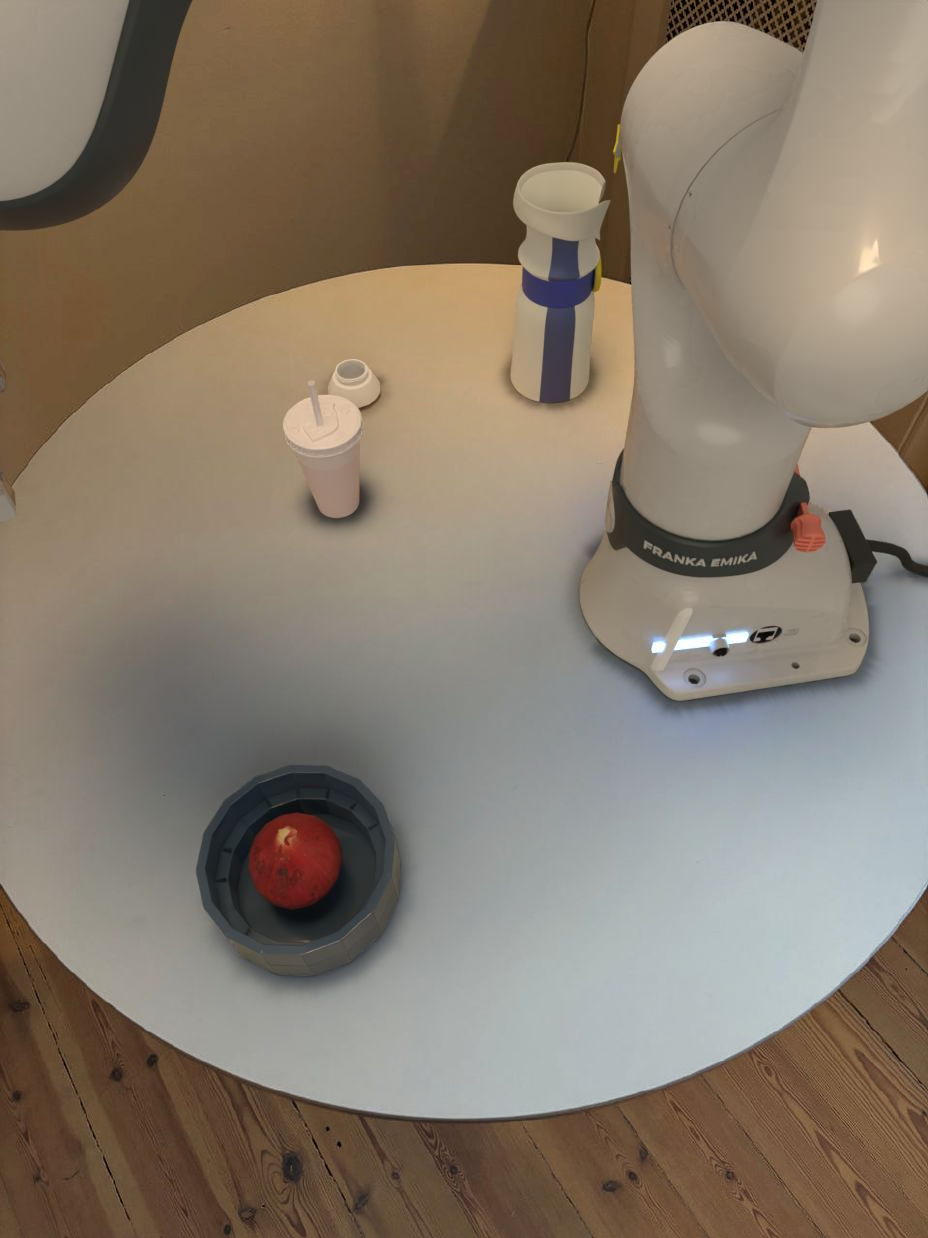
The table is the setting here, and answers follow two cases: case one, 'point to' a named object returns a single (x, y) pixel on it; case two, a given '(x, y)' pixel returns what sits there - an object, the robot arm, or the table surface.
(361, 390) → the lidless jar
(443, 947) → the table surface
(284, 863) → the red fruit
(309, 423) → the smoothie
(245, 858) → the bowl
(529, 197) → the water bottle
